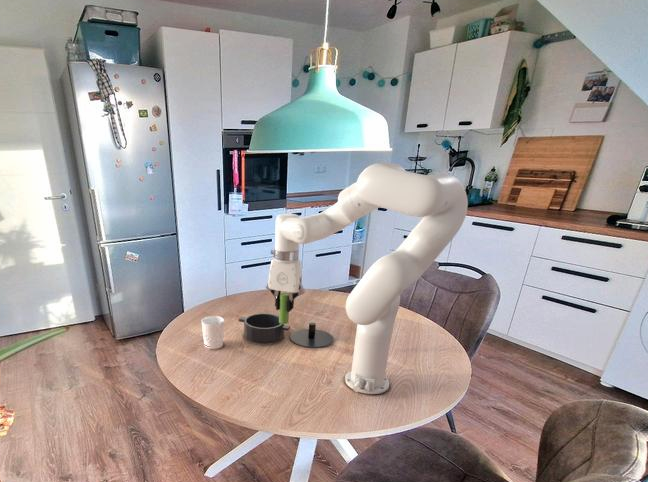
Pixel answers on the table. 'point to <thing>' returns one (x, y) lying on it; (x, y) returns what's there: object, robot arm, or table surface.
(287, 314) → the green cylinder
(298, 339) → the pot lid
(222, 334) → the white cup
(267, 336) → the pot
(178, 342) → the table surface
